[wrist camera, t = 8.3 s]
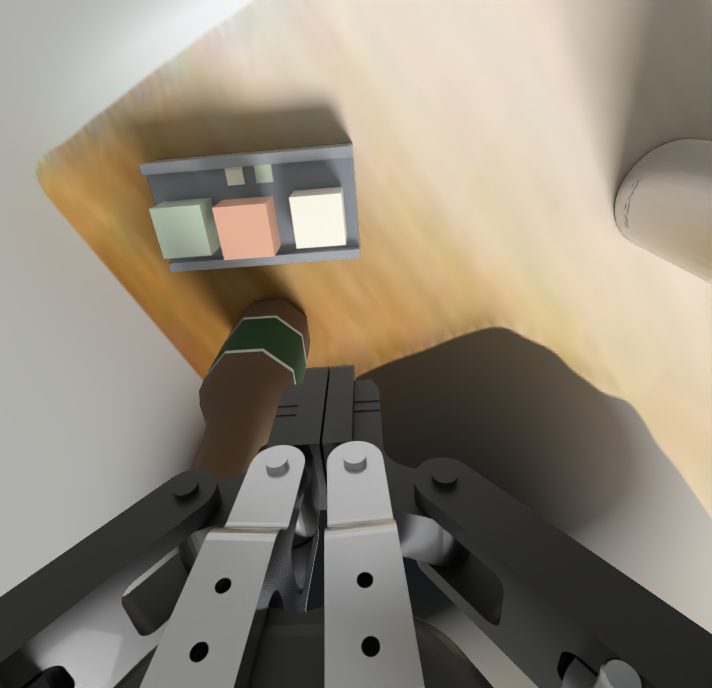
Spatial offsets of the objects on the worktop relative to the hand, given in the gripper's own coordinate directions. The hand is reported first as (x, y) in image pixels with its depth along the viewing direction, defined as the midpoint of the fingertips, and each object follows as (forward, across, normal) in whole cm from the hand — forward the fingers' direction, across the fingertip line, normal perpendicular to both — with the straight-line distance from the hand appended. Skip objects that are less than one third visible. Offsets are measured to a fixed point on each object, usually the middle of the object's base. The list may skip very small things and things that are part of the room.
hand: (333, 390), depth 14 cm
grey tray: (+29, +8, 0) cm, 30 cm away
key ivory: (+26, +2, 0) cm, 26 cm away
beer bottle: (+29, +9, +12) cm, 33 cm away
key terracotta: (+24, +8, 0) cm, 26 cm away
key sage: (+26, +14, 0) cm, 29 cm away
